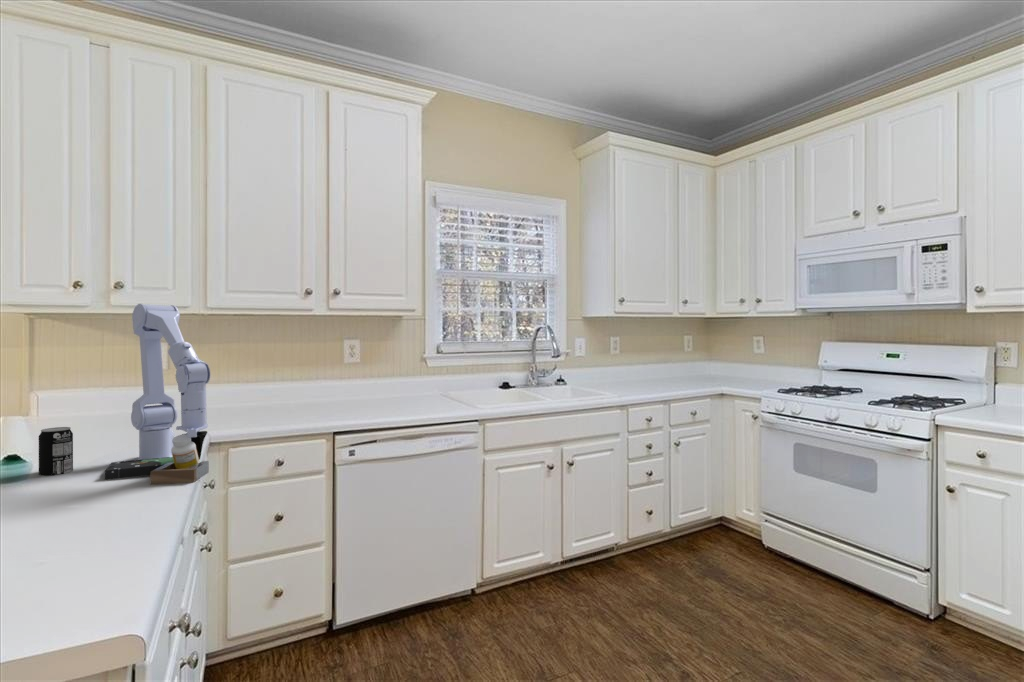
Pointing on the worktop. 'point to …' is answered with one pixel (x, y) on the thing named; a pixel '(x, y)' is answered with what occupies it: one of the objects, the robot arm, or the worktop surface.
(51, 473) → the beverage can
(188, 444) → the supplement bottle
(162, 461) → the disk drive
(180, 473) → the wood and metal frame
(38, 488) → the worktop surface
